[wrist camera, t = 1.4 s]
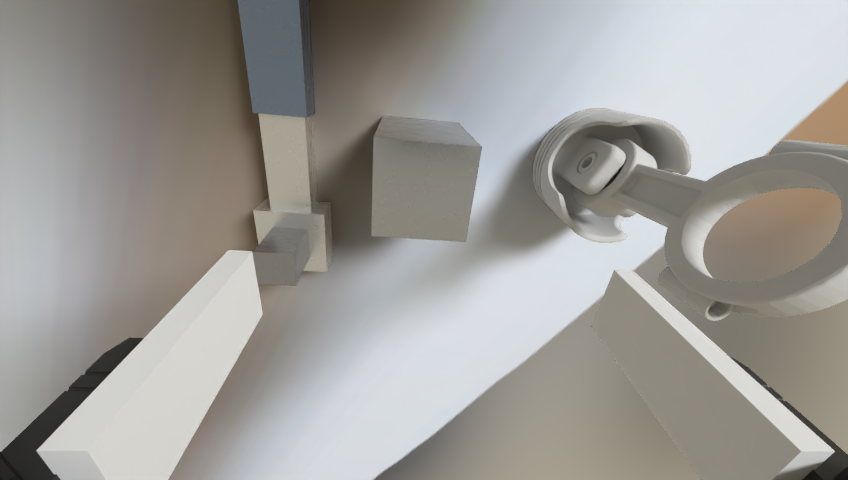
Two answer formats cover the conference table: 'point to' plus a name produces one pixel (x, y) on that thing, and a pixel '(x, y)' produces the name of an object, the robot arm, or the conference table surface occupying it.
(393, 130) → the grey textured cube
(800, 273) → the engine component
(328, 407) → the conference table surface
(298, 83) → the blue-grey beige mallet
